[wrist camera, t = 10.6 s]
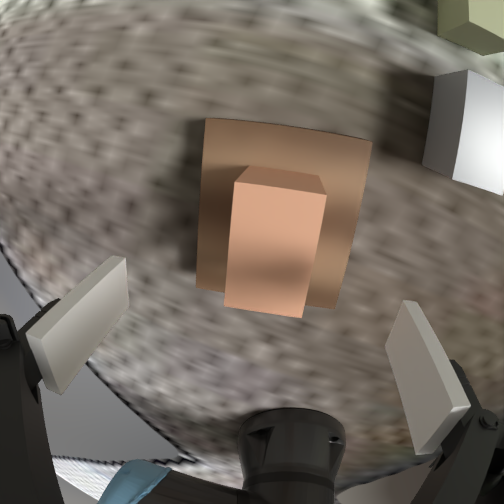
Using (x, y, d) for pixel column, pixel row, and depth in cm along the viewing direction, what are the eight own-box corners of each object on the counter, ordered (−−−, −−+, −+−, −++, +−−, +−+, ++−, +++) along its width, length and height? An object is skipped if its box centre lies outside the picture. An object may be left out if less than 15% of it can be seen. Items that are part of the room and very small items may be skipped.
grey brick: (466, 178, 23) (502, 195, 18) (421, 164, 23) (452, 179, 18) (480, 95, 20) (518, 94, 14) (434, 76, 20) (468, 69, 15)
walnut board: (331, 291, 29) (334, 309, 26) (204, 271, 30) (195, 287, 27) (363, 139, 23) (372, 141, 20) (215, 118, 24) (205, 118, 21)
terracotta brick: (300, 274, 25) (301, 317, 20) (239, 264, 26) (224, 305, 20) (318, 175, 22) (326, 195, 17) (249, 165, 22) (234, 181, 17)
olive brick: (482, 55, 18) (519, 48, 13) (436, 36, 18) (469, 21, 13) (480, -12, 15) (511, -29, 9) (435, -33, 15) (462, -57, 10)
